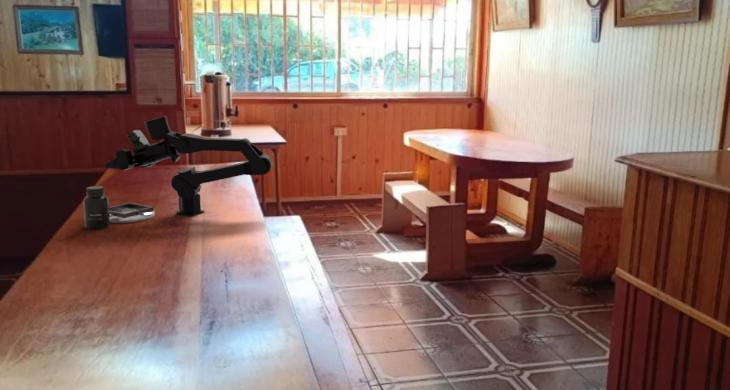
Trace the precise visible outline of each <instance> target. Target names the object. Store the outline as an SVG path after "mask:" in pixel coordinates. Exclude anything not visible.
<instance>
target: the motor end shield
mask: <svg viewBox="0 0 730 390" xmlns="http://www.w3.org/2000/svg"><path fill="white" fill-rule="evenodd" d="M153 217H155V208H154V206H151V205H150V206H149V205H145V204H140V203H136V202H135V203H134V202H125V203H122V204H119V205H118V204H117V205H113V206H109V218H110V224H111V223H113V224H129V223H130V224H131V223H137V222H143V221H147V220H149V219H152V218H153Z"/></svg>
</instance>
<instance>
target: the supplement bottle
mask: <svg viewBox="0 0 730 390" xmlns="http://www.w3.org/2000/svg"><path fill="white" fill-rule="evenodd" d="M85 190H86V193H85V194H86V196H84V197H83V198H84V199H83V201H82V202H83V203H82V204H83V217H84V226H85V229H87V230H91V231H95V230H96V231H98V230H103V229H104V230H105V229H108V228H109V227H110V225H111V223H110V218H109V207H110V205H109V197H108V196H106V195H105V192H106V191H105V187H104V186H102V185H101V186H100V185H96V186H95V185H94V186H88V187H86V189H85Z"/></svg>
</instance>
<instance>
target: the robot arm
mask: <svg viewBox="0 0 730 390" xmlns="http://www.w3.org/2000/svg"><path fill="white" fill-rule="evenodd" d="M144 125H145V128H146V130H147V133H148V135H149V137H150V138H149V139H152V141H155V142H154V143H149V141H148V138H147V137H146V136H145V134H144V133H143V132H142V131H141V130H140V129H134V130H132V131H130V132H128V133H127V135H126V139H127V140H128V141H129V142H130V143H131V144H132V148H131V149H132V152H133V155H132V152H131V150H129V149H128V148H122V149H119V150H116V151H115V157H114V158H113V159H111V160H110V161H108V162H107V163H105V164H104V167H105V168H106V169H110V170H111V169H113V170H119V171H128V170H131V169H134V168H142V169H143V168H144V169H145V168H149V167H151V168H152V167H154V166H156V165H157V164H156V163H159V162H162V161H164V160H167V159H171V161H172V162H171V163H173V164H175V163H177V162H178V161H180V158H181V156H182V155H183V154H184V155H185V154H192V153H193V154H194V153H197V152H198V153H199V152H204V151H211V152H212V151H213V152H214V151H215V152H240V153H241V154H243V156H244V157H245V159H246V160H245V161H243V162H238V163H233V164H229V165H225V166H220V167H215V168H210V169H205V170H196V166H192V167H189V168H182V169H180V170H179V171H178V172H177V174H175V175H174V176H172V178H171V181H170V182H171V184H170V185H171V187H172V188H173V189H174V191H176V193H177V195H178V197H179V198H178V209H179V211H178V210H177V211H175V212H176V214H177V215H183V216H187V217H192V216H195V215H199V214H203V213H205V210H202V209H201V194H199V193H200V191H201V188H202V184H207V183H211V182H216V181H220V180H226V179H231V178H235V177H241V176H265V175H267V174H268V173H269V172H270V171H271V169H273V166H274V160H273V158H272V157H271V156H270V155H269V154H266V153H263V151H262V150H260V149H259V148H258V147H257V146H256V145H254V144H253V143H252V142H251V141H250V139H248V138H247V137H246V138H225V137H224V138H221V137H220V138H219V137H205V136H201V135H198V134H193V133H187V132H186V133H180V132H177V131H173V130H171V126H170V125H169V121H168V117H167V115H164V116H161V117H155V118H153V119H149V120H146V121H144ZM161 140H162V141H161Z"/></svg>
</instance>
